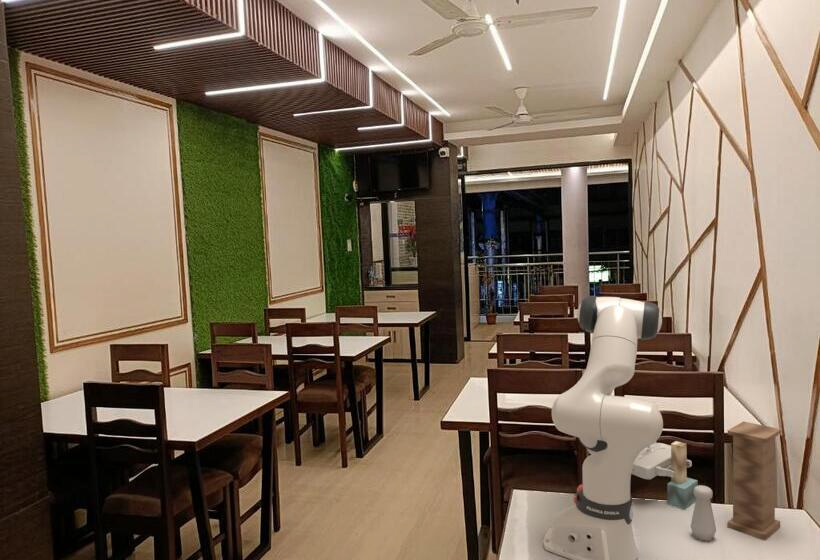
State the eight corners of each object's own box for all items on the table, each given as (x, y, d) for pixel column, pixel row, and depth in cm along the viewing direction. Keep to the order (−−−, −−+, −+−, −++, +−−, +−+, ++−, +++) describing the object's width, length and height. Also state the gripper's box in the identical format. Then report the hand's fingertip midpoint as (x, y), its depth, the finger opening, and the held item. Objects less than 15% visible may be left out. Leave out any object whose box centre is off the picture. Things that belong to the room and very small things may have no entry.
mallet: (666, 446, 165) (684, 450, 161) (680, 438, 170) (697, 443, 166) (667, 504, 166) (684, 509, 162) (680, 495, 171) (697, 500, 167)
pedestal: (727, 527, 152) (727, 430, 150) (743, 514, 158) (743, 421, 156) (765, 540, 145) (766, 439, 143) (780, 526, 151) (781, 429, 149)
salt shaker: (719, 543, 144) (719, 493, 143) (694, 542, 146) (694, 492, 145) (711, 531, 150) (711, 483, 149) (688, 530, 151) (687, 482, 150)
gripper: (618, 455, 169) (664, 468, 158) (654, 437, 182) (699, 449, 171) (618, 476, 170) (664, 491, 159) (654, 457, 182) (699, 469, 172)
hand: (682, 469), depth 165 cm, fingers open, 8 cm apart
